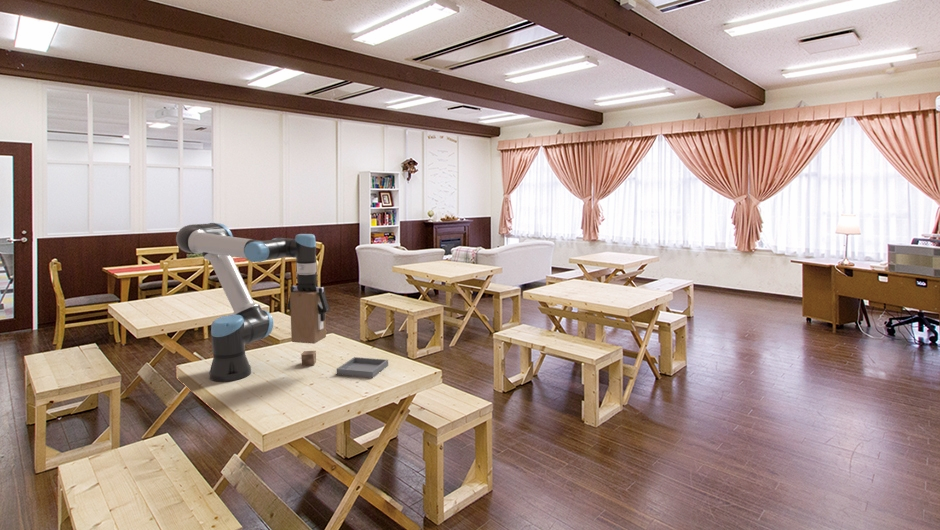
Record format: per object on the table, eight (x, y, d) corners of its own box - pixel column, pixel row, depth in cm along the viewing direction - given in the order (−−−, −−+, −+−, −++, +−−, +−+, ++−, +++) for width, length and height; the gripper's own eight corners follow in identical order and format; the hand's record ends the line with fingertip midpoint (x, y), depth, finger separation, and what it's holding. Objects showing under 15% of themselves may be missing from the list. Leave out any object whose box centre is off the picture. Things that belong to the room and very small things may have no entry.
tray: (336, 374, 207) (336, 368, 206) (354, 362, 222) (354, 357, 221) (372, 378, 203) (372, 371, 203) (388, 365, 218) (388, 359, 218)
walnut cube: (301, 366, 218) (301, 354, 217) (304, 362, 223) (303, 351, 222) (314, 365, 218) (313, 354, 218) (316, 361, 223) (315, 350, 222)
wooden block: (314, 344, 202) (312, 293, 199) (291, 342, 204) (289, 292, 201) (326, 337, 211) (325, 289, 208) (304, 335, 213) (302, 288, 210)
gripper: (275, 273, 203) (278, 328, 206) (328, 276, 197) (329, 332, 200) (286, 270, 210) (288, 323, 213) (337, 273, 205) (339, 327, 208)
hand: (308, 328), depth 207 cm, fingers closed on wooden block, 10 cm apart
